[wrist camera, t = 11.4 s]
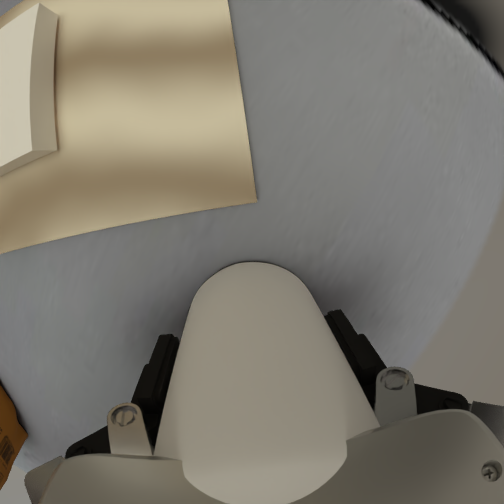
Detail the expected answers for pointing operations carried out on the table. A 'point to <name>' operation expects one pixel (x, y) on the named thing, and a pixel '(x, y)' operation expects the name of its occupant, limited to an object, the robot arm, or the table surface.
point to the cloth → (133, 120)
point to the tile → (27, 88)
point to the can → (259, 391)
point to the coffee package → (9, 436)
